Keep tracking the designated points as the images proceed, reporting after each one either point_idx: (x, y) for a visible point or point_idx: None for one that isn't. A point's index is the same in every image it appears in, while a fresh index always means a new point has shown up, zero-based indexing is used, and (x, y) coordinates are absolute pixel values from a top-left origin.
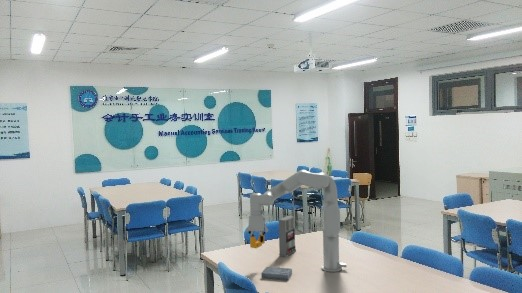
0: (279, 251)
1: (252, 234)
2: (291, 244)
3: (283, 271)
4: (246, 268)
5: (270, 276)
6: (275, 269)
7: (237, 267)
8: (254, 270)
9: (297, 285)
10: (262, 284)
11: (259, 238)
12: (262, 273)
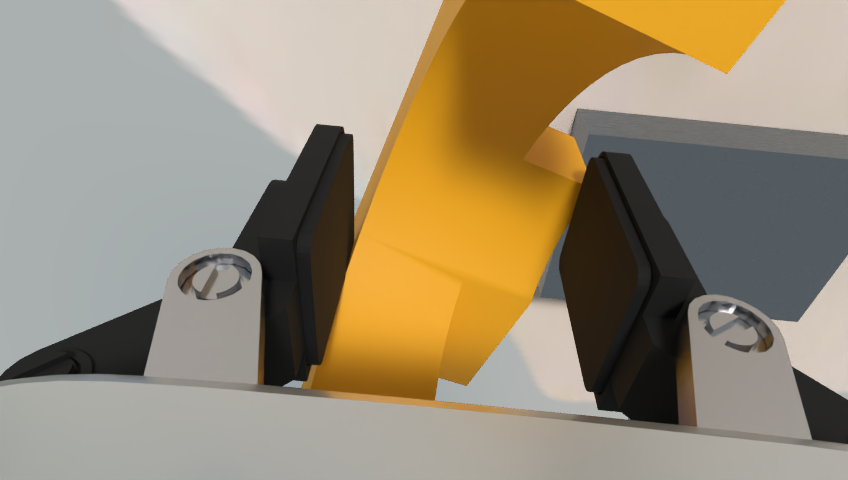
0: None
1: (277, 383)
2: None
3: (777, 248)
4: (314, 30)
5: None
6: (695, 206)
7: (189, 6)
8: None
9: (823, 358)
10: (551, 358)
11: (508, 41)
12: (550, 295)
